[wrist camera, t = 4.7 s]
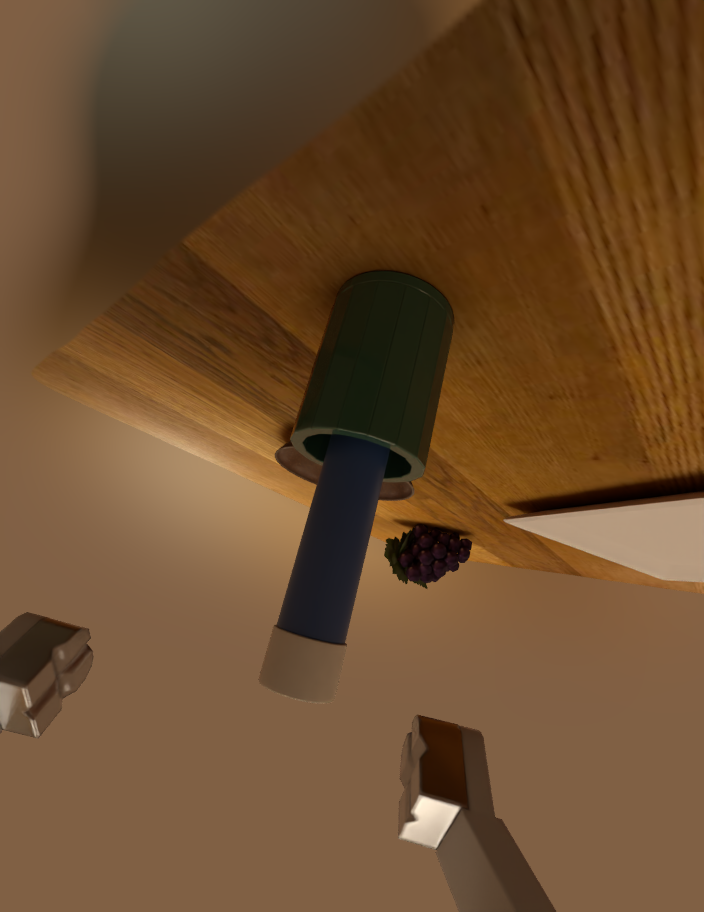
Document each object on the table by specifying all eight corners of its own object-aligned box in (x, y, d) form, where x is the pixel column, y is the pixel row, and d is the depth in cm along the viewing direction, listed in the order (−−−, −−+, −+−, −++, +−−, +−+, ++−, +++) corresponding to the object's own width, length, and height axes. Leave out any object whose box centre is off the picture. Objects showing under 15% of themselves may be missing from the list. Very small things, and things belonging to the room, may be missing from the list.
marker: (361, 301, 20) (247, 685, 15) (422, 311, 19) (329, 710, 14) (363, 339, 23) (269, 672, 17) (417, 348, 22) (337, 692, 17)
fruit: (476, 520, 69) (399, 533, 77) (448, 511, 61) (366, 527, 69) (486, 584, 65) (405, 591, 74) (459, 583, 57) (371, 591, 66)
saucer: (291, 459, 51) (285, 480, 50) (270, 408, 37) (260, 435, 36) (408, 488, 50) (403, 509, 49) (432, 446, 36) (426, 474, 35)
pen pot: (328, 261, 19) (276, 416, 16) (465, 281, 18) (431, 448, 15) (340, 342, 25) (303, 466, 22) (444, 360, 24) (417, 491, 21)
